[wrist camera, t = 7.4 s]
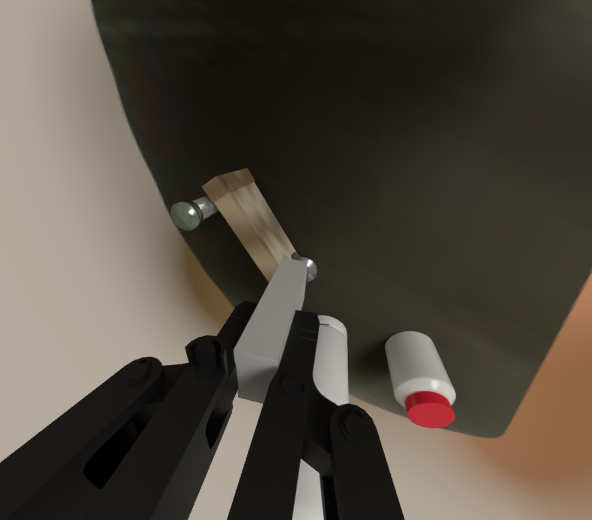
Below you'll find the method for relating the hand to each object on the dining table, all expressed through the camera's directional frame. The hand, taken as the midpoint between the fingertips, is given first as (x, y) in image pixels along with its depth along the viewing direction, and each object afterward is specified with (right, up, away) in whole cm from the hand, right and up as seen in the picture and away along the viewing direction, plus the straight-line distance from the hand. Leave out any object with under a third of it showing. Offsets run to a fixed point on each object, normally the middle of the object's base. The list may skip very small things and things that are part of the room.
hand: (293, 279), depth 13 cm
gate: (-3, +7, +18) cm, 19 cm away
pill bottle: (+20, -14, +25) cm, 35 cm away
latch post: (-8, +11, +17) cm, 22 cm away
